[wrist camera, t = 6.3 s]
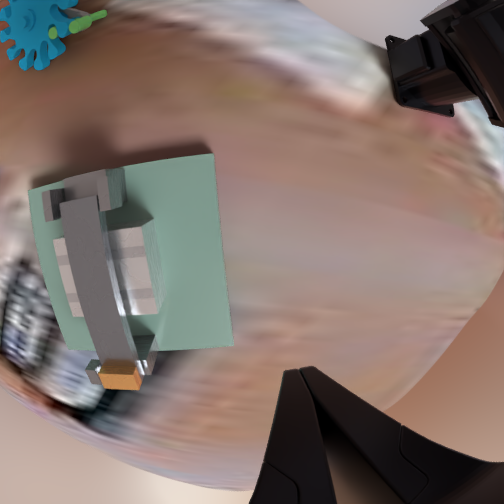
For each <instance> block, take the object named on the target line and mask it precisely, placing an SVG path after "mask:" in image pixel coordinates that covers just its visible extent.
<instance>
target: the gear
mask: <svg viewBox="0 0 504 504" xmlns="http://www.w3.org/2000/svg"><path fill="white" fill-rule="evenodd" d="M8 1H9V3H10V5H8V6H6V7H4V8H2V9H1V11H0V21H6V22H7V23H8V24H9V26H10V27H7V28H6V29H4V30H2V31H1V32H0V40H1V42H2V43H3V42H5V41H7V40H8V39H13V40H15V42H16V45H14V46H12V47H11V48H9V49H8V50H7V55H8V57H9V59H10V61H11V60H13V59H14V58H16V57H18V56H19V55H20V52H21V50H22V48H23V49H24V50H25V57H24V58H22V59H21V60H20V61H19V66H20V67H21V68H22V69H23V70H24V71H26V70H27V69H29V68H30V67H32V66H33V64H34V68H35V69H36V70H43V69H44V68H46V67H47V66H49V65H50V60H52V59H54V58H56V57H57V56H59V55H61V54H62V53H64V52H65V51H66V47H65V45H64V44H63V43H62V42H61V41H60V39H59V38H58V37H61V38H64V37H66V36H68V35H70V34H71V33H73V34H74V33H79V32H82V31H84V30H86V29H88V28H89V27H90V26H91V24H92V22H93V21H95V20H98V19H101V18H103V17H105V16H106V15H107V11H106V10H101V11H98V12H95V13H93V14H89V13H87V12H84V11H81V10H77V9H74V8H71V7H74V6H76V5H77V4H78V0H8ZM47 44H48V53H47ZM35 51H36V52H37V57H36V59H35V61H34V53H35Z"/></svg>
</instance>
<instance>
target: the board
mask: <svg viewBox="0 0 504 504" xmlns="http://www.w3.org/2000/svg"><path fill="white" fill-rule="evenodd" d="M114 169H125V180H126V190H127V198H128V201H127V202H123V203H122V205H123V206H121V207H118V208H115V209H112V210H108V211H105V216H106V223H107V225H111V224H118V223H125V222H132V221H139V220H147V219H154V221H155V228H156V235H157V242H158V248H159V254H160V260H161V266H162V272H163V277H164V283H165V288H166V293H167V295H166V297H165V299H164V301H163V303H162V306H161V308H160V310H159V313H158V314H145V315H126V317H127V321H128V324H129V328H130V331H131V334H132V336H135V335H156V338H157V342H158V345H159V351H162V350H185V349H201V348H214V347H226V346H234V339H233V330H232V323H231V315H230V307H229V298H228V290H227V281H226V272H225V263H224V254H223V245H222V235H221V225H220V215H219V204H218V193H217V182H216V170H215V158H214V153H211V154H202V155H194V156H186V157H178V158H171V159H164V160H158V161H151V162H145V163H140V164H134V165H129V166H124V167H118V168H114ZM60 188H64V180H63V181H59V182H56V183H52V184H48V185H45V186H42V187H38V188H35V189H32V190H29V191H28V196H29V205H30V212H31V219H32V225H33V231H34V237H35V242H36V247H37V251H38V256H39V260H40V264H41V269H42V272H43V276H44V280H45V284H46V287H47V291H48V294H49V297H50V300H51V303H52V307H53V310H54V313H55V315H56V318H57V321H58V324H59V327H60V329H61V332H62V334H63V337H64V339H65V342H66V344H67V347H68V349H71V350H92V351H96V349H95V347H94V344H93V341H92V339H91V336H90V333H89V330H88V327H87V324H86V321H85V318H84V317H73V315H72V312H71V309H70V305H69V303H68V299H67V296H66V292H65V289H64V285H63V282H62V278H61V274H60V270H59V266H58V262H57V258H56V253H55V248H54V243H53V240H54V239H56V238H58V237H60V236H62V235H64V232H63V226H62V220H61V218H60V219H57V220H54V221H50V222H45V216H44V209H43V202H42V193H41V192H44V191H48V190H53V189H60Z"/></svg>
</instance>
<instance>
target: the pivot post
mask: <svg viewBox="0 0 504 504" xmlns="http://www.w3.org/2000/svg"><path fill="white" fill-rule="evenodd" d="M63 180H64V188H60V189H53V190H48V191H44V192H41V193H42V202H43V209H44V216H45V222H50V221H54V220H57V219H60V218H61V213H60V205H59V203H63V202H67V201H72V200H76V199H81V198H86V197H90V196H95V195H98V199H99V206H100V212H102V211H108V210H112V209H115V208H118V207H121V206H123V205H122V203H123V202H127V201H128V198H127V190H126V180H125V169H102V170H97V171H93V172H89V173H85V174H81V175H77V176H73V177H69V178H65V179H63Z"/></svg>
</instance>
